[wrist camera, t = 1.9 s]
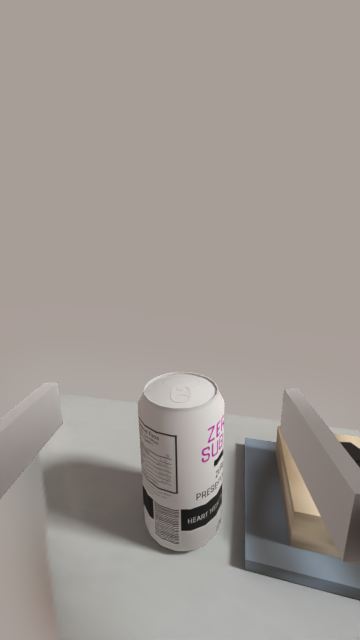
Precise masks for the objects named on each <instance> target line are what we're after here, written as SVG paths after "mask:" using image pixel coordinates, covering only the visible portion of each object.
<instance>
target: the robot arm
mask: <svg viewBox="0 0 360 640" xmlns="http://www.w3.org/2000/svg"><path fill="white" fill-rule="evenodd" d="M62 424H63V421H62V413H61V405H60V397H59V390H58V383H57V382H45V383H43V384H42V385H41V386H40V387H38V388H37V389H36V390H35V391H33V392H32V393H31V394H30V395H28V396H27V397H26V398H25V399H24V400H22V401H21V402H20V403H18V404H17V405H16V406H15V407H13V408H12V409H11V410H10V411H8V412H7V413H6V414H5V415H3V416H2V417H1V418H0V498H1V497H2V496H3V495H4V494H5V493H6V491H7V490H8V489H9V488H10V487H11V485H12V484H13V483H14V482H15V480H16V479H17V478H18V477H19V476H20V474H21V473H22V472H23V471H24V469H25V468H26V467H27V466H28V465H29V463H30V462H31V461H32V460H33V459H34V458H35V456H36V455H37V454H38V453H39V451H40V450H41V449H42V448H43V447H44V445H45V444H46V443H47V442H48V441H49V439H50V438H51V437H52V436H53V435H54V433H55V432H56V431H57V430H58V428H59V427H60V426H61V425H62ZM280 433H281V435H282V437H283V439H284V441H285V443H286V445H287V447H288V449H289V451H290V453H291V456H292V458H293V460H294V462H295V464H296V466H297V468H298V470H299V472H300V474H301V476H302V478H303V481H304V483H305V485H306V487H307V489H308V491H309V493H310V495H311V497H312V499H313V501H314V503H315V506H316V508H317V510H318V512H319V514H320V516H321V518H322V520H323V522H324V524H325V526H326V528H327V531H328V533H329V535H330V537H331V539H332V541H333V543H334V545H335V547H336V549H337V551H338V553H339V556H340V558H341V560H342V562H353V563H360V449H359V448H358V447H357V446H355V445H354V444H352V443H351V442H339V441H338V439H337V438H336V437H335V435H334V434H333V433H332V432H331V430H330V429H329V428H328V426H327V425H326V424H325V423H324V421H323V420H322V419H321V418H320V416H319V415H318V414H317V412H316V411H315V410H314V409H313V407H312V406H311V405H310V403H309V402H308V401H307V400H306V398H305V397H304V396H303V394H302V393H301V392H300V391H299V389H287V388H286V389H284V395H283V405H282V415H281V426H280Z"/></svg>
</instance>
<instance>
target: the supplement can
mask: <svg viewBox="0 0 360 640" xmlns="http://www.w3.org/2000/svg"><path fill="white" fill-rule="evenodd" d="M138 414H139V431H140V448H141V465H142V482H143V499H144V516H145V524H146V526H147V528H148V531H149V533H150V535H151V536H152V537H153V538H154V539H155V540H156V541H157V542H158V543H159V544H160V545H161V546H164V547H166V548H169V549H171V550H174V551H192V550H195V549H197V548H200V547H202V546H204V545H206V544H207V543H208V542H209V541H210V540H211V539H212V538H213V537H214V536H215V535H216V533H217V530H218V528H219V526H220V523H221V506H222V470H223V434H224V400H223V398H222V397H221V395H220V393H219V391H218V387H217V385H216V383H215V382H214V381H213V380H211V379H210V378H208V377H206V376H203V375H200V374H197V373H191V372H173V373H167V374H163V375H160V376H157V377H155V378H153V379H152V380H150V381H149V382H148V383H147V384H146V386H145V387H144V392H143V394H142V396H141V398H140V400H139V402H138Z"/></svg>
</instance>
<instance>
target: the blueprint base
mask: <svg viewBox="0 0 360 640" xmlns="http://www.w3.org/2000/svg"><path fill="white" fill-rule="evenodd" d="M333 434H334V433H333ZM334 435H335V437H336V438H337V439H338V441H339V442H351V443H352V444H354V445H355V446H357V447H358V448H359V449H360V437H357V436H349V435H341V434H334ZM245 570H248V571H252V572H255V573H259V574H263V575H267V576H271V577H274V578H278V579H282V580H286V581H289V582H293V583H297V584H301V585H305V586H308V587H312V588H316V589H320V590H324V591H327V592H331V593H335V594H339V595H342V596H346V597H350V598H354V599H358V600H360V563H353V562H342V560H341V558H340V556H339V553H338V551H337V549H336V547H335V545H334V543H333V541H332V539H331V537H330V535H329V533H328V531H327V528H326V526H325V524H324V522H323V520H322V518H321V516H320V514H319V512H318V510H317V508H316V506H315V503H314V501H313V499H312V497H311V495H310V493H309V491H308V489H307V487H306V485H305V483H304V481H303V478H302V476H301V474H300V472H299V470H298V468H297V466H296V464H295V462H294V460H293V458H292V456H291V453H290V451H289V449H288V447H287V445H286V443H285V441H284V439H283V437H282V435H281V433H280V426H278V430H277V442H270V441H263V440H256V439H249V438H245Z"/></svg>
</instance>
